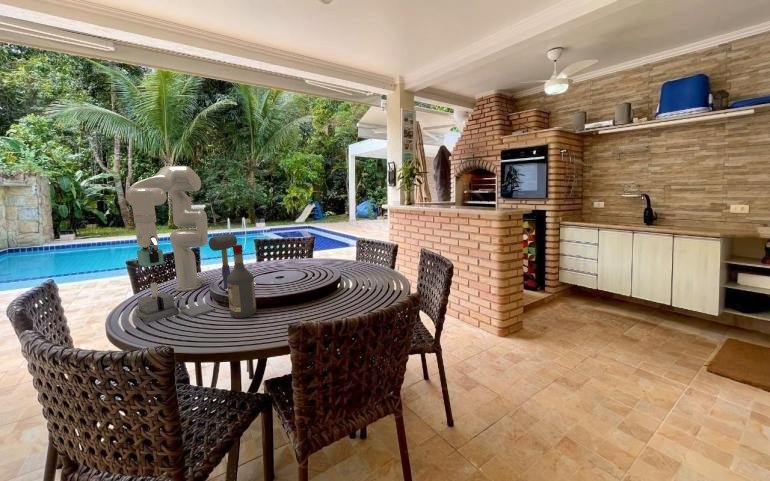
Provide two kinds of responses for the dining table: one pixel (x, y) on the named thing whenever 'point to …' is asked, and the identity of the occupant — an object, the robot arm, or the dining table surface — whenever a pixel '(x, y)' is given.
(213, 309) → the mat
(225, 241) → the rubber mallet
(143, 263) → the collar
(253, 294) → the liquor
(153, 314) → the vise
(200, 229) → the robot arm
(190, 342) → the dining table surface
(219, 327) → the dining table surface
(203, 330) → the dining table surface
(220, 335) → the dining table surface
